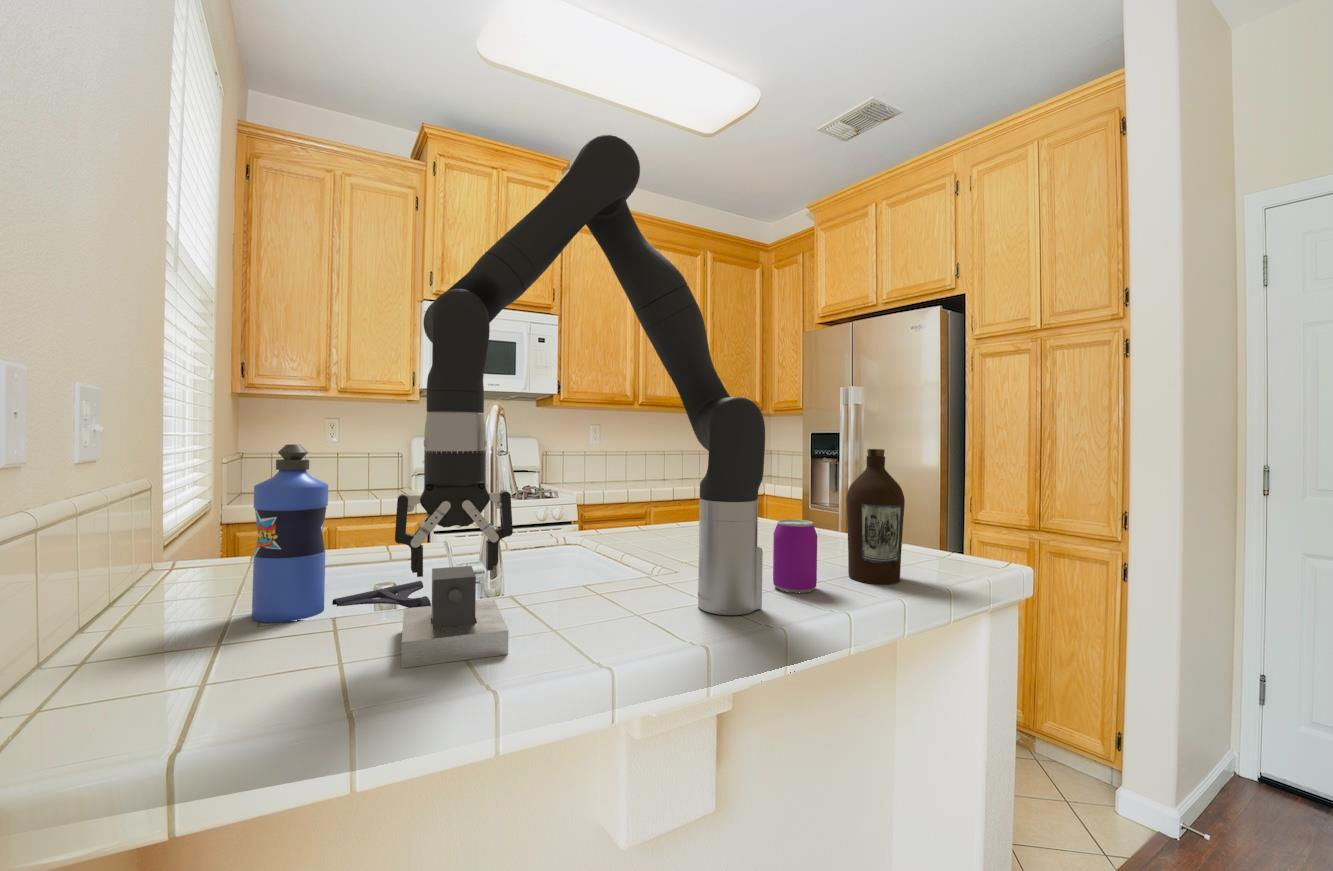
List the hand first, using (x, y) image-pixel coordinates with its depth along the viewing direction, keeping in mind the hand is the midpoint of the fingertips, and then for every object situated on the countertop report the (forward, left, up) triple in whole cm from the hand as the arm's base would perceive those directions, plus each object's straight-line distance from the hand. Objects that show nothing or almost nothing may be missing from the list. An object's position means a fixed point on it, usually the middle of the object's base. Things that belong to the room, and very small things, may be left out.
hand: (455, 572), depth 77 cm
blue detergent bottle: (+22, -21, -9) cm, 32 cm away
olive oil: (-77, -8, -9) cm, 78 cm away
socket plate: (0, 0, -9) cm, 9 cm away
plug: (0, 0, -8) cm, 8 cm away
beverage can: (-58, -7, -9) cm, 59 cm away
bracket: (+7, -21, -10) cm, 24 cm away
